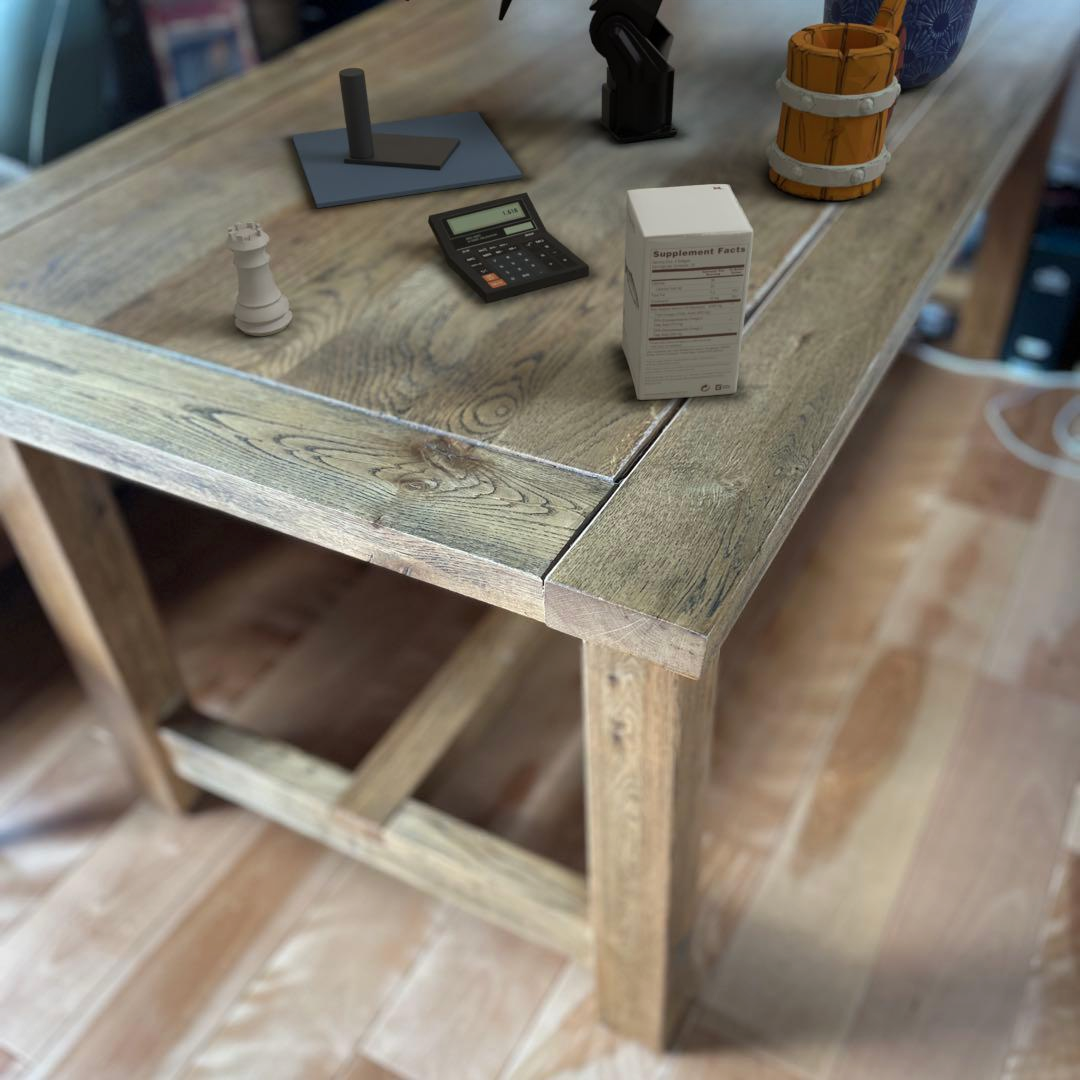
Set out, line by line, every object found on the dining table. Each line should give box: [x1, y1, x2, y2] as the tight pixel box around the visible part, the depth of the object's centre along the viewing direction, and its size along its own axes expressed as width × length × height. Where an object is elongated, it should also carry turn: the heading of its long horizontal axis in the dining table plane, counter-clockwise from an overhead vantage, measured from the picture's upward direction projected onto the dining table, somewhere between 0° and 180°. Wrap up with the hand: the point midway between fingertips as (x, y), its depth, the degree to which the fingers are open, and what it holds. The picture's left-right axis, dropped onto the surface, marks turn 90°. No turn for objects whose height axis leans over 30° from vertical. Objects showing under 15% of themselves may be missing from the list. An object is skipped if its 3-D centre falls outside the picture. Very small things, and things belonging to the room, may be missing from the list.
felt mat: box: [291, 110, 523, 209], centre depth 112 cm, size 20×18×1 cm
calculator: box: [427, 191, 590, 304], centre depth 94 cm, size 9×12×3 cm
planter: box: [822, 0, 979, 90], centre depth 122 cm, size 17×17×15 cm
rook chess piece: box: [224, 220, 293, 337], centre depth 85 cm, size 4×4×8 cm
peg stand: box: [338, 67, 460, 170], centre depth 109 cm, size 10×7×8 cm
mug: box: [765, 0, 907, 202], centre depth 102 cm, size 11×16×15 cm, turn 137°
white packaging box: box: [621, 183, 755, 401], centre depth 77 cm, size 7×7×13 cm
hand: (454, 10), depth 108 cm, fingers open, 9 cm apart
